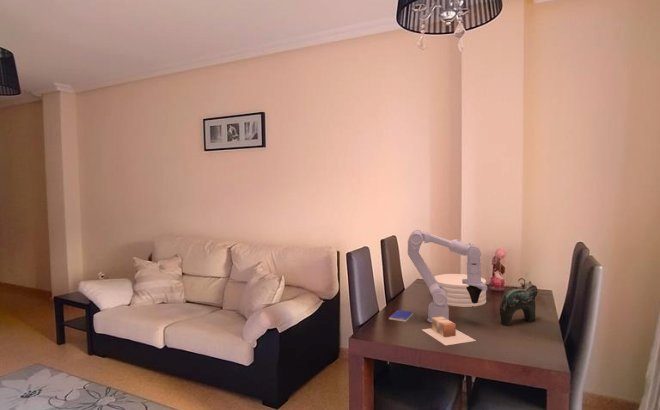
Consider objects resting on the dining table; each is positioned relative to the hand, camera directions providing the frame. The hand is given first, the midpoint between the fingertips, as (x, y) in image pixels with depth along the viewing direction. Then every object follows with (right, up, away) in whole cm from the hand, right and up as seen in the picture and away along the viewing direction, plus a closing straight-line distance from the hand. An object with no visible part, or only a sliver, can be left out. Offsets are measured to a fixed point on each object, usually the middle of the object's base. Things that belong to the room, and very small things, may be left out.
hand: (474, 302), depth 168 cm
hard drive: (-30, -11, +16) cm, 36 cm away
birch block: (-15, -8, -13) cm, 21 cm away
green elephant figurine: (+22, -10, +4) cm, 24 cm away
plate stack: (+8, -9, +43) cm, 44 cm away
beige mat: (-16, -11, -11) cm, 22 cm away
